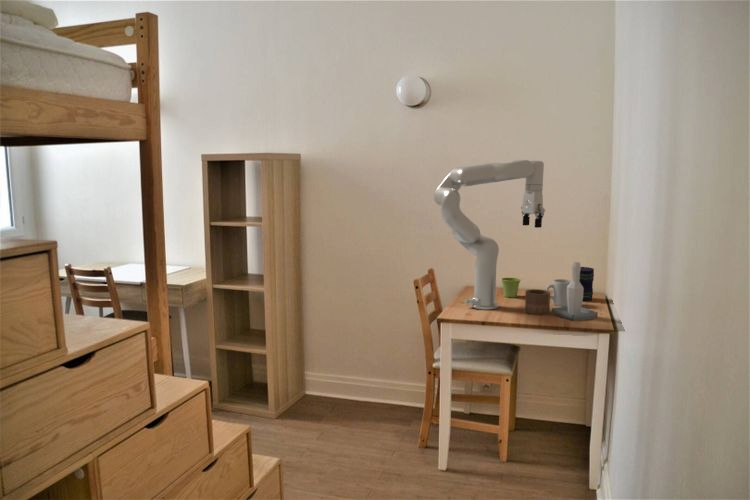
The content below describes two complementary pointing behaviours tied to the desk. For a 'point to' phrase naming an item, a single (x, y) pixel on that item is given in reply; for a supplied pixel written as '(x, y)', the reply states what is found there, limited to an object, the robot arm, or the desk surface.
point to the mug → (559, 291)
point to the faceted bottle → (575, 291)
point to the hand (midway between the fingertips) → (531, 226)
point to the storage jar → (587, 283)
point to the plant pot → (510, 286)
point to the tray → (574, 317)
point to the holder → (537, 302)
